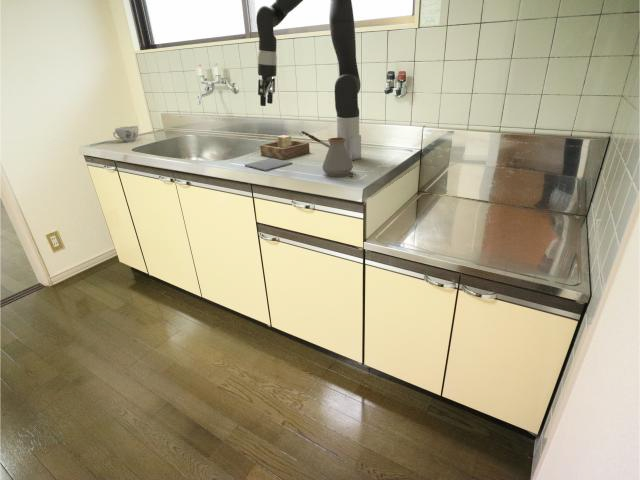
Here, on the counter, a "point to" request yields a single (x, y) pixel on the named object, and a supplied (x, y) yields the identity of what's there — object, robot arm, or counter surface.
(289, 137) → the maple block
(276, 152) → the walnut crate
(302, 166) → the counter surface
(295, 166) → the counter surface
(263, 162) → the charcoal mat
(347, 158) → the coffee pot
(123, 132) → the teacup
